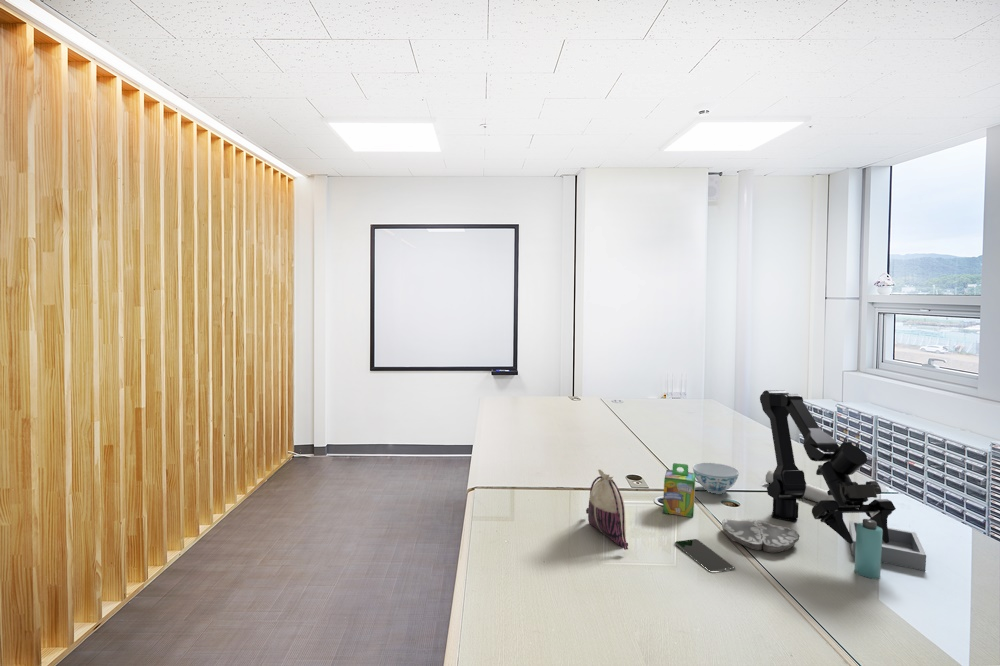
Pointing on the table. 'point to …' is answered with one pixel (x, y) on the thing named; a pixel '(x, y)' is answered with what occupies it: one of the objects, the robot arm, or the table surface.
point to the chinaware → (715, 476)
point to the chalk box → (679, 491)
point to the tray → (897, 548)
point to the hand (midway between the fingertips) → (869, 543)
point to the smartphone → (704, 555)
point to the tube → (810, 492)
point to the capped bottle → (868, 549)
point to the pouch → (607, 509)
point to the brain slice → (760, 535)
